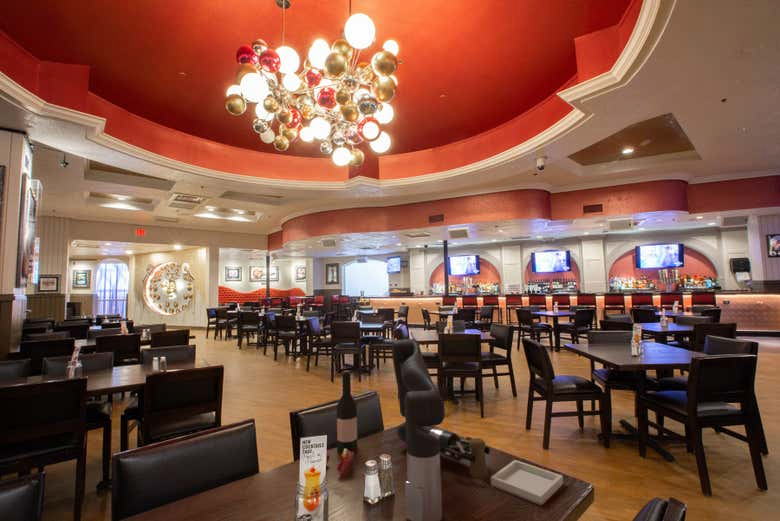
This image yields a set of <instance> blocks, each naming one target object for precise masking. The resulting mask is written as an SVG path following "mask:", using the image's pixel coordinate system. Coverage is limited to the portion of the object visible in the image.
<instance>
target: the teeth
mask: <svg viewBox="0 0 780 521" xmlns="http://www.w3.org/2000/svg"><path fill="white" fill-rule="evenodd" d="M354 456H355V451H354V452H353V451H352V452H350V451H349V450H347V449H345V448H344V450H343V452H342V453H341V452H340V457H339V460H340V461H339V463H338V465H337V468H336V470H337V471H338V473H339V474H338V475H339V476H340V477H341V478H344V479H347V478H348V475H349V472H350V469H351V466H352V463H353V460H354ZM329 460H330V455H329V453H327V464H328V462H329Z"/></svg>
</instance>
